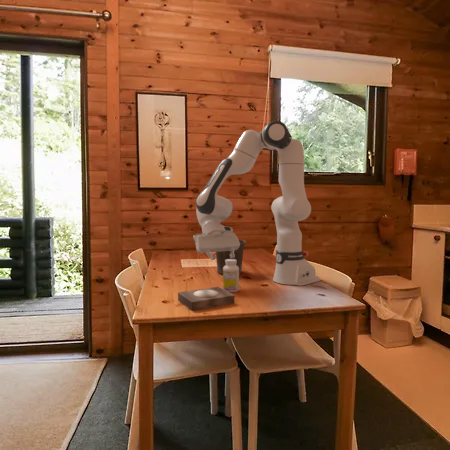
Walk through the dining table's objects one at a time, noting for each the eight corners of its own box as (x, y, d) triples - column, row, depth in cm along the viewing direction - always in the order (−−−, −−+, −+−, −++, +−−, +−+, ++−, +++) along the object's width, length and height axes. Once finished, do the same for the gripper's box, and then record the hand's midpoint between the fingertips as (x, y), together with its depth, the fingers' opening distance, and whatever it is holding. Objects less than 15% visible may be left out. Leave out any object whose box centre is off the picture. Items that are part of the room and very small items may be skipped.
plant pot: (242, 277, 165) (243, 244, 164) (210, 275, 168) (210, 242, 167) (247, 270, 181) (247, 239, 180) (217, 268, 184) (217, 238, 183)
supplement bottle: (229, 287, 148) (229, 257, 147) (242, 290, 144) (242, 259, 142) (219, 290, 143) (219, 260, 141) (232, 293, 138) (232, 262, 137)
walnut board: (218, 294, 138) (218, 286, 138) (234, 303, 127) (234, 294, 126) (178, 300, 130) (178, 291, 130) (191, 310, 119) (191, 301, 118)
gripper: (193, 229, 148) (203, 255, 141) (235, 227, 158) (246, 252, 150) (190, 238, 153) (199, 264, 145) (230, 236, 162) (240, 260, 155)
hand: (223, 258), depth 148 cm, fingers open, 8 cm apart
